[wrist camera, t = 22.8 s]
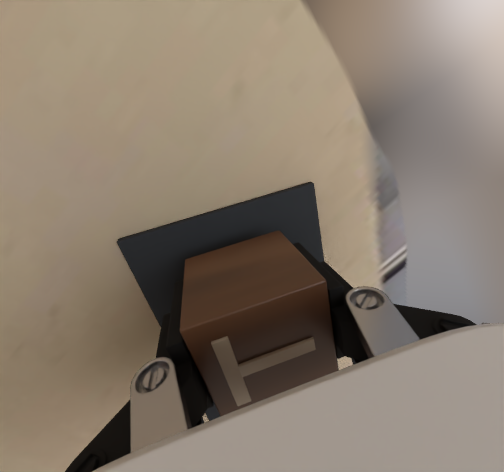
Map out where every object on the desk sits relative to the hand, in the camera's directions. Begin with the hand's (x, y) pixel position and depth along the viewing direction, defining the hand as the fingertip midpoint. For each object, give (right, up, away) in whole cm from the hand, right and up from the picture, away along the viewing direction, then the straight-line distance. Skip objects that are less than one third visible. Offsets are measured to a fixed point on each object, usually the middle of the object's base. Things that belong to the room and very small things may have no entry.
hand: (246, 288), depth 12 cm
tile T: (0, 0, 0) cm, 0 cm away
